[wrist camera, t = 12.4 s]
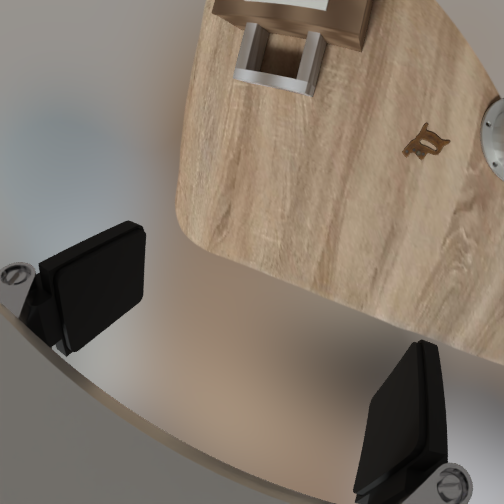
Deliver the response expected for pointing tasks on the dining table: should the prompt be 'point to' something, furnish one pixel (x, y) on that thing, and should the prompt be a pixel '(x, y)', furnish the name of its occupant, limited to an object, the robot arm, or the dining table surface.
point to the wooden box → (296, 25)
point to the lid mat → (299, 3)
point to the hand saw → (423, 150)
